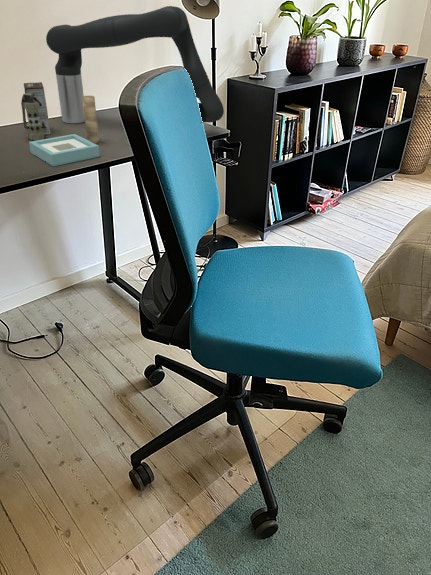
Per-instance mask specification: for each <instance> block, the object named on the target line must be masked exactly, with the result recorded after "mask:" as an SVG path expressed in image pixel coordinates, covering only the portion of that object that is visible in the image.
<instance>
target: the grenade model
mask: <svg viewBox="0 0 431 575" xmlns="http://www.w3.org/2000/svg"><path fill="white" fill-rule="evenodd" d="M22 94H23V95H22V97H21V100H20V104H21V110H22V122H23V128H24V129H26V130H28V131H29V134H28V138H29V140H30V141H37V140H43V139H46V138H45V135H44V133H43V132H42V130H41V124H40V118H39V113H38V108H39V107H40V106H42V104H41V103H40V102H39V101H38V100H37V99H36V98H35V97H33V96H35V95H34V94H31V93H25V92H24V93H22ZM33 99H34V100H35V101H33ZM26 119H27V120H26ZM27 123H28V125H27Z"/></svg>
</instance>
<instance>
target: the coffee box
mask: <svg viewBox="0 0 431 575" xmlns="http://www.w3.org/2000/svg"><path fill="white" fill-rule="evenodd" d="M23 89H24V94H25V93H31V94H34V95H35V96H33V97H35V98H36V99H37V100H38V101H39V102H40V103H41V104H42V106H40V107H39V108H38V113H39V118H40V124H41V130H42V132H43V133H44V136H45V135H51V134H52V133H51V127H50V121H49V112H48V106H47V101H46V94H45V89H44V85H43V83H42V82H40V81H39V82H25V83H23ZM33 101H35V100H34V99H33Z"/></svg>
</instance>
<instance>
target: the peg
mask: <svg viewBox="0 0 431 575" xmlns="http://www.w3.org/2000/svg"><path fill="white" fill-rule="evenodd" d="M95 97H96V96H94V95H84V96H82V100H83V109H84V118H85V122H84V123H85V124H84V125H85V134H86V140H88V141H90V142H92V143H94V144H96V145H97V144H99V143H100V138H99V128H98V118H97V110H96V109H97V106H96V98H95Z"/></svg>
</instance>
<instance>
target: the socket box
mask: <svg viewBox="0 0 431 575" xmlns="http://www.w3.org/2000/svg"><path fill="white" fill-rule="evenodd" d="M28 143H29V149H30V153H31V154H32V155H34V156H36V157H37V158H39V159H41V160H42V161H44V162H45V161H46V162H45V163H47V164H49V165H50V166H52V167H57V166H61V165H67V164H70V163H71V164H72V163H75V162H76V163H77V162H81V161H86V160H90V159H95V158H99V157H100V158H101V155H100V154H101V153H100V145H98V144H97V143H96V144H94V143H92V142H90V141H88V140H87V138H84V137H82V136H80V135H77V134H76V133H73V134H66V135H62V136H60V135H59V136H55V137H50V138H44V139H43V140H37V141H33V140H30V141H29V142H28Z"/></svg>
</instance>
